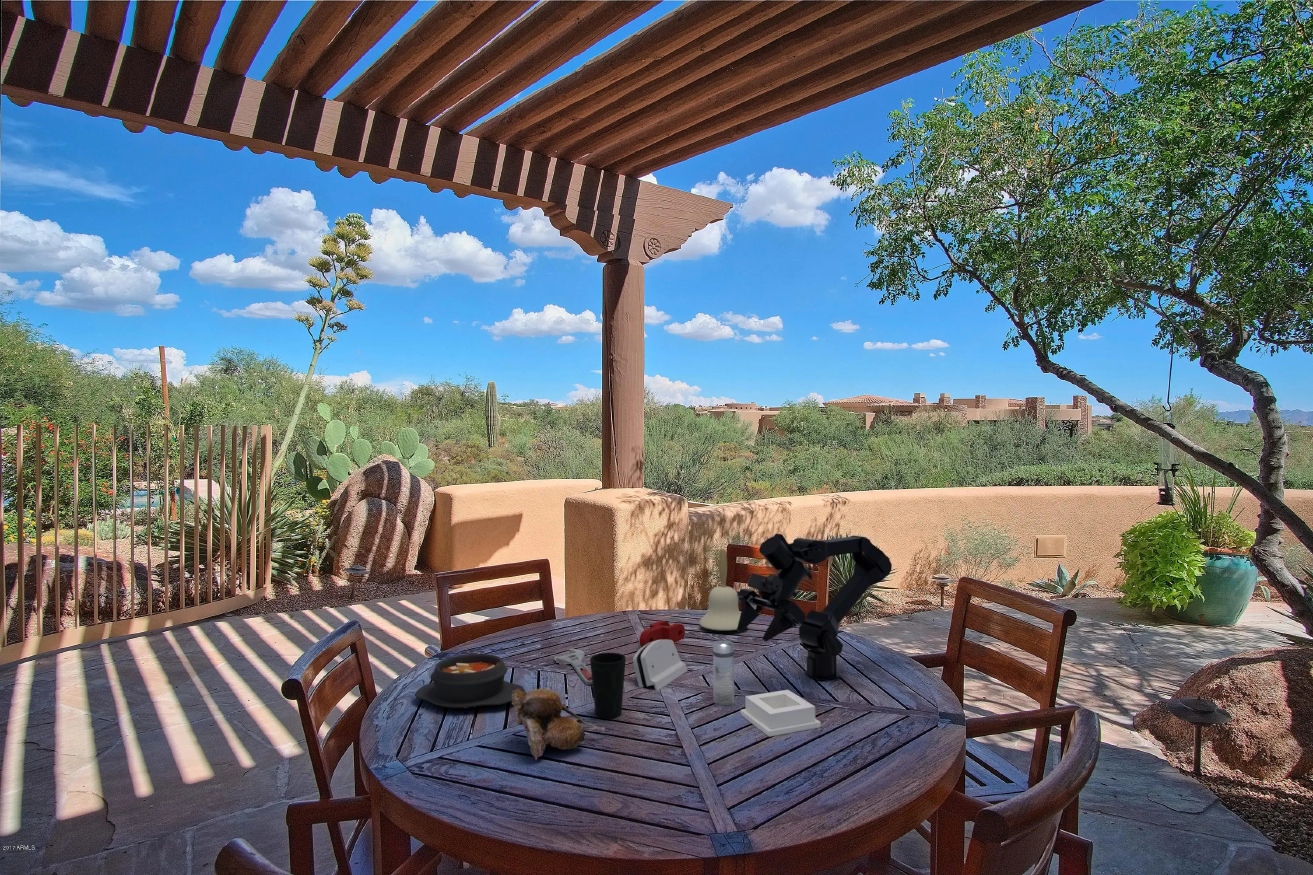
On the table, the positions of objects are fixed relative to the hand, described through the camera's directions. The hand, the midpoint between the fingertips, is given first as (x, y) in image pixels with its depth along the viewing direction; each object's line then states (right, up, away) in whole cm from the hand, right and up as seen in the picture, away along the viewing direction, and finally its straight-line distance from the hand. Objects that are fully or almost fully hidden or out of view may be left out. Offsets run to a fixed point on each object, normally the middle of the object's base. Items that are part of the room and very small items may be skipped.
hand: (750, 635), depth 158 cm
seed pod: (-43, -14, -26) cm, 52 cm away
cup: (-32, -14, -11) cm, 36 cm away
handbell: (-1, -14, +57) cm, 58 cm away
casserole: (-64, -14, -1) cm, 66 cm away
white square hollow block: (+4, -13, -15) cm, 21 cm away
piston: (-7, -13, -4) cm, 16 cm away
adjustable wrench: (-42, -15, +19) cm, 49 cm away
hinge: (-21, -14, +12) cm, 28 cm away
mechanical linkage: (-21, -15, +42) cm, 49 cm away
